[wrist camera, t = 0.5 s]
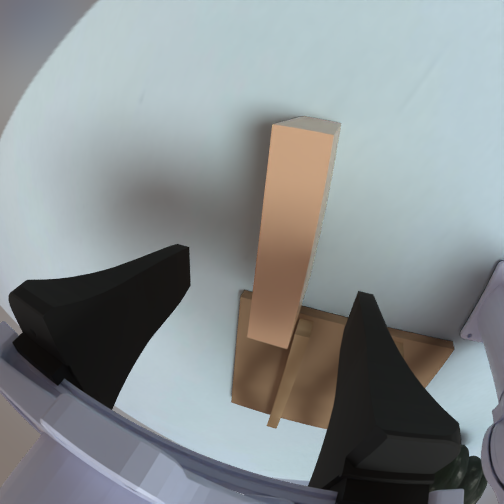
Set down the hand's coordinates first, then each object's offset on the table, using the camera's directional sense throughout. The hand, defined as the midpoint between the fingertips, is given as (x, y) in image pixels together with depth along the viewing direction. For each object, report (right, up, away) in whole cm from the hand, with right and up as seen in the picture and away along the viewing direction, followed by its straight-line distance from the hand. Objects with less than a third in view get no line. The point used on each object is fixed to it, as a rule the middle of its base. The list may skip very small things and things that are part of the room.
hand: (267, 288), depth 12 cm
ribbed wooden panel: (+7, -12, +16) cm, 22 cm away
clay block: (+3, +5, +9) cm, 11 cm away
